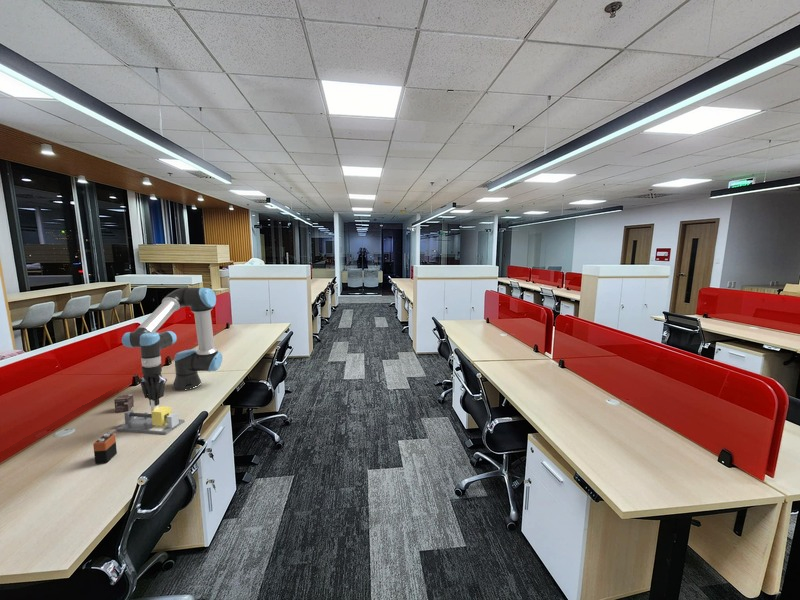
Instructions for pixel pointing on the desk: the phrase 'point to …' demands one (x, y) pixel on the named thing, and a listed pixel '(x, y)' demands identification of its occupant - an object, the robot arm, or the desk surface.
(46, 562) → the desk surface
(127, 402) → the box
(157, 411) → the sleeve
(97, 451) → the battery
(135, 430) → the gray rail plate
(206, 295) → the robot arm
